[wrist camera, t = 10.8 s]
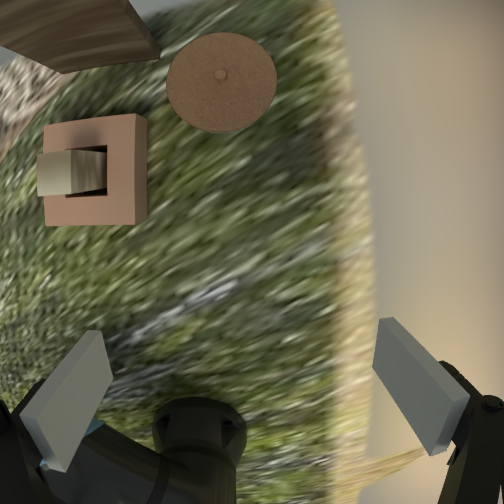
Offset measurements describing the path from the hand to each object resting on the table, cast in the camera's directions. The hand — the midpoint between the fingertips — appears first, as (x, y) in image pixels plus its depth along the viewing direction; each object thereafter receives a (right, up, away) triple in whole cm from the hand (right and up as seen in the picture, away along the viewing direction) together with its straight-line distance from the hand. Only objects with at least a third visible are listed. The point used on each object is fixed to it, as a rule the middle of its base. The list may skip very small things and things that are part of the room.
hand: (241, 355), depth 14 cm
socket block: (-18, +15, +22) cm, 32 cm away
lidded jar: (-3, +23, +21) cm, 31 cm away
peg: (-18, +15, +22) cm, 32 cm away
